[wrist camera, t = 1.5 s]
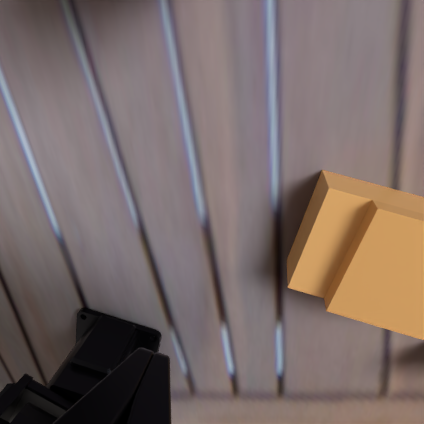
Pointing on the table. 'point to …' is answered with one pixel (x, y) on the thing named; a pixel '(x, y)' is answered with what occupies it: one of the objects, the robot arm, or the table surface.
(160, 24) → the table surface
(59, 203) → the table surface
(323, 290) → the orange stepped block
